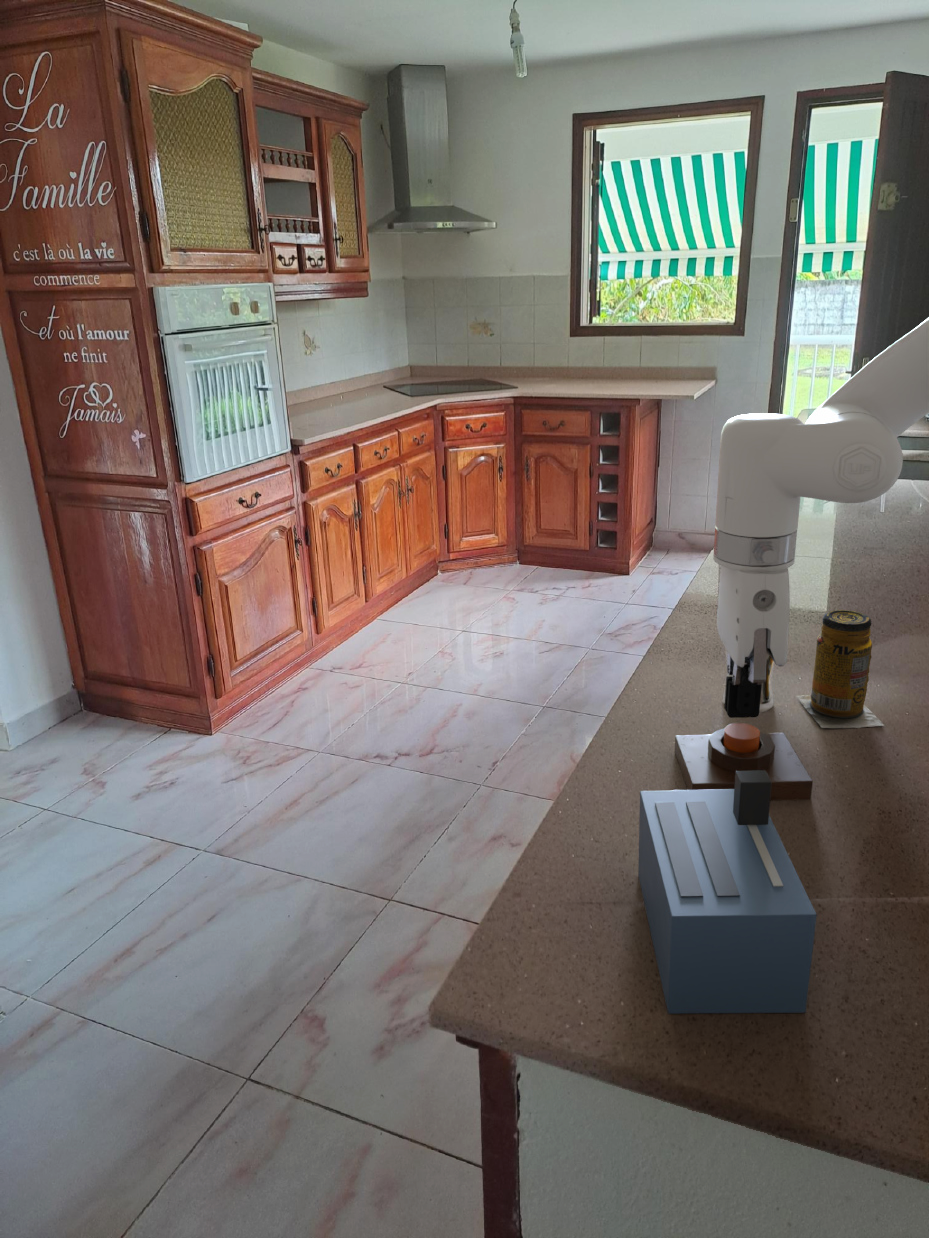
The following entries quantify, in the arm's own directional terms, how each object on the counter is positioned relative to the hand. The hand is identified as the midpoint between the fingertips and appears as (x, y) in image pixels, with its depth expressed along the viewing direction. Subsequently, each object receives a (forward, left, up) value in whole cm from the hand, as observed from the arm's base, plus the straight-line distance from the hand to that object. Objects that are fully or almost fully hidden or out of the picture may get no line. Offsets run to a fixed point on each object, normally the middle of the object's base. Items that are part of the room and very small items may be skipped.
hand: (741, 713), depth 92 cm
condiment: (-15, -13, -8) cm, 22 cm away
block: (0, 0, -7) cm, 7 cm away
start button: (0, 0, -4) cm, 4 cm away
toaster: (+8, +25, -7) cm, 27 cm away
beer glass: (-5, -16, -8) cm, 19 cm away
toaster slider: (+5, +21, +2) cm, 22 cm away
